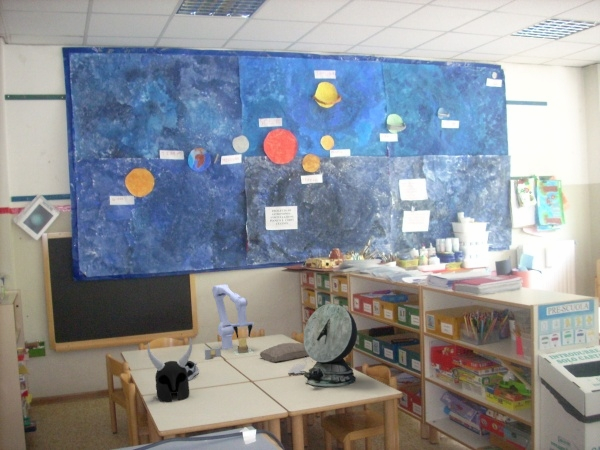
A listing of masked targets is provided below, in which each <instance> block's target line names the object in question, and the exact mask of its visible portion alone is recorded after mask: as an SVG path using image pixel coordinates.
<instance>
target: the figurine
mask: <svg viewBox="0 0 600 450" xmlns="http://www.w3.org/2000/svg"><path fill="white" fill-rule="evenodd" d="M303 358H304V359H303V361H304V363H303V362H298V363H296V364H295V365H292V367H290V368H289V370H288V376H289V377H292V376H291V375H293V376H299V375H298V374H302V375H304V373H305V372H307V371H306V370H304V369H305V368H306V366H307V361H306V360H309V361H310V360H311V362H313V361H314V360H313V359H312V358H309V357H303Z"/></svg>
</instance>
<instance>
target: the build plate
mask: <svg viewBox="0 0 600 450" xmlns="http://www.w3.org/2000/svg"><path fill="white" fill-rule="evenodd" d="M232 353H233V354H234V355H235V356H238V355H239V356H241V355H247V354H254V351H253V350H252V349H249V348H248V353H240V354H239V353H238V350H234V351H232Z"/></svg>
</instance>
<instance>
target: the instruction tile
mask: <svg viewBox="0 0 600 450" xmlns="http://www.w3.org/2000/svg"><path fill="white" fill-rule="evenodd" d="M221 349H222V348H221V347H217V348H208V349H204V359H205V360H211V359H212V360H213V359H214V358H217V357H222V352H221V351H222V350H221Z"/></svg>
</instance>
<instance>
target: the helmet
mask: <svg viewBox="0 0 600 450" xmlns="http://www.w3.org/2000/svg"><path fill="white" fill-rule="evenodd" d="M146 347H147V351H146V352H147V353H148V358H149V360H150V361H151V364H152V365H153V366H154V368H155V369H156V370H157V371H156V373H155V390H156V397H157V398H158V400H159V401H160V402H164V403H167V402H172V400H173V398H172V393H176V395H177V400H178V401H179V400H185V399H187V398H189V396H190V383H189V380H188V374H187V370H186V368H185V365H186V363H187V362H188V361H189V359H190V357H191V354H192V352H193V351H192V350H193V343H192V338H189V347H188V349H187V350H186V352H185V353H184V354H183V355H182V356H181V357H180V358H179V360H176V361H175V360H169V361H165V362H163V361H162V360H160V359H159V358H157V357H156V356H155V355H154V354H153V353H152V352H151V349H150V342H149V341H148V342H147V346H146Z"/></svg>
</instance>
